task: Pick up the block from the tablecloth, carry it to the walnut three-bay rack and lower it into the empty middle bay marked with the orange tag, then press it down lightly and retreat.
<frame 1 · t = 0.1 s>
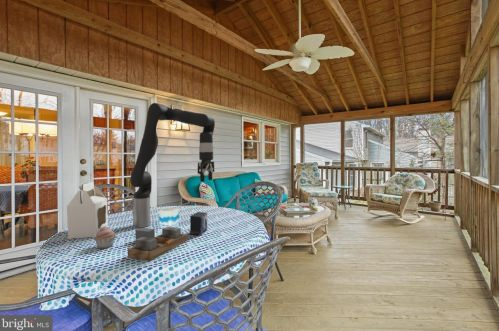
hand: (206, 180, 145), 29 cm above the table, tool pointing down, fingers open, 8 cm apart
cupcake: (105, 246, 126), on the table
small box: (199, 232, 148), on the table
block: (145, 241, 134), on the table
rack: (159, 248, 123), on the table
gable box: (89, 232, 149), on the table
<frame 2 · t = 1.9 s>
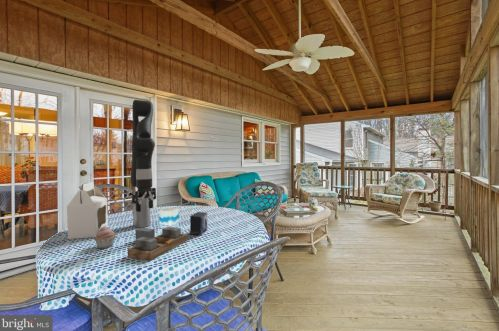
hand: (144, 209, 133), 16 cm above the table, tool pointing down, fingers open, 8 cm apart
nothing on the table moved.
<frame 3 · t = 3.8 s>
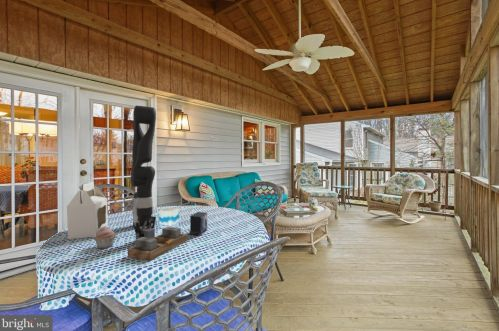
hand: (145, 239, 134), 1 cm above the table, tool pointing down, fingers closed on block, 4 cm apart
block: (145, 240, 134), on the table, touching gripper
everything else where it was.
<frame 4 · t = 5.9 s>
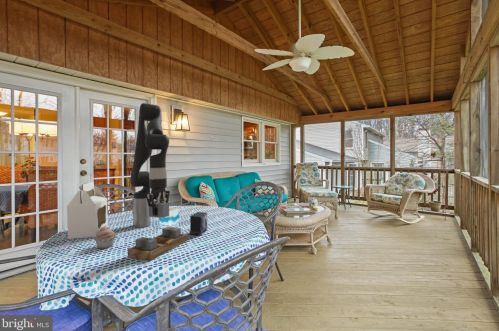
hand: (158, 214, 123), 16 cm above the table, tool pointing down, fingers closed on block, 4 cm apart
block: (159, 216, 123), point 15 cm above the table, touching gripper
everything else where it was.
when the fingers open (4 cm above the table, at t = 8.0 s): block drops 2 cm, resting on rack.
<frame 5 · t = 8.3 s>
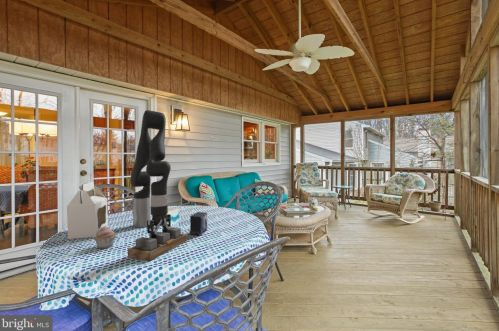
hand: (159, 239, 123), 4 cm above the table, tool pointing down, fingers open, 7 cm apart
block: (159, 246, 123), point 1 cm above the table, touching rack
everything else where it was.
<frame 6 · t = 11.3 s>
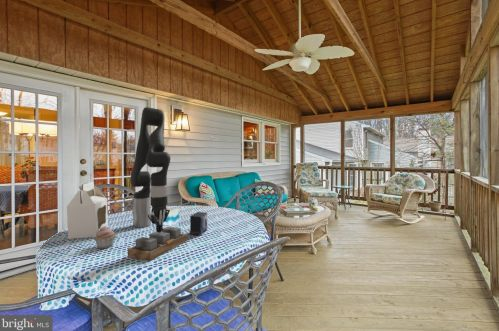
hand: (159, 232, 123), 8 cm above the table, tool pointing down, fingers closed
nothing on the table moved.
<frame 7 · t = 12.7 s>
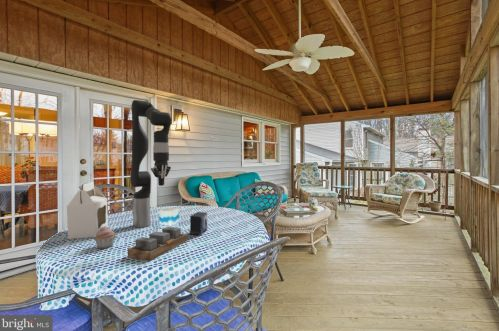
hand: (161, 185, 136), 28 cm above the table, tool pointing down, fingers closed
nothing on the table moved.
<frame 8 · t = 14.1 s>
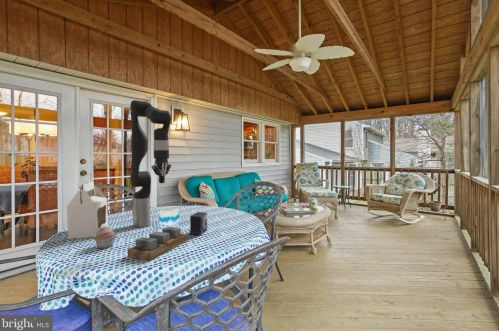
hand: (161, 183, 136), 29 cm above the table, tool pointing down, fingers closed
nothing on the table moved.
at the end: block 0.0 cm off-centre on the rack, point 1.0 cm above the rack's base; block tilted 0°; the gripper is holding nothing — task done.
